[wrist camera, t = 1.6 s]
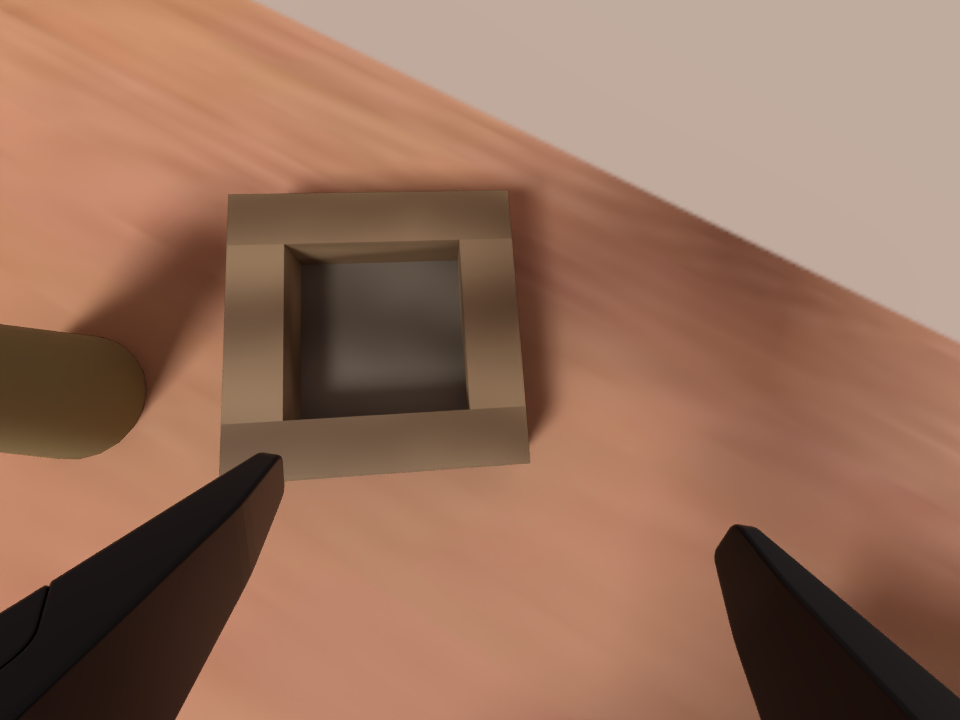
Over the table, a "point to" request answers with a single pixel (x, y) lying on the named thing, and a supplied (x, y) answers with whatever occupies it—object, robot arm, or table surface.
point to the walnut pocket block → (371, 333)
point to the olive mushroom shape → (65, 393)
